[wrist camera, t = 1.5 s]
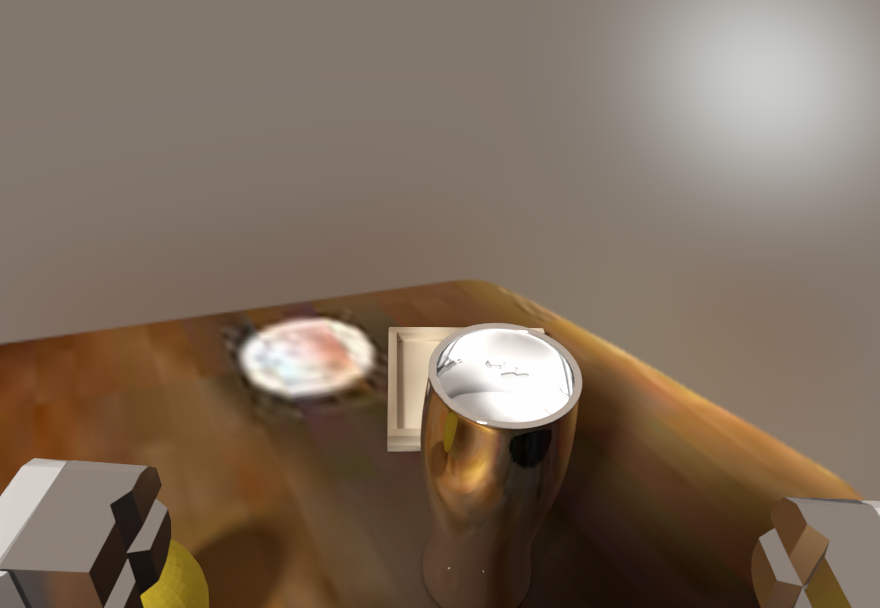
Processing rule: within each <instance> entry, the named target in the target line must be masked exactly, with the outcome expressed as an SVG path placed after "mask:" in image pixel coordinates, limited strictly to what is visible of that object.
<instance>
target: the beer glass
mask: <svg viewBox="0 0 880 608" xmlns="http://www.w3.org/2000/svg"><path fill="white" fill-rule="evenodd" d="M428 371H429V373H428V380H427V385H426V390H425V397H424V403H423V410H422V419H421V430H420V460H421V468H422V476H423V482H424V487H425V492H426V497H427V502H428V506H429V511H430V516H431V522H432V529H431V533H430V536H429V539H428V541H427V544H426V546H425V549H424V553H423V557H422V575H423V579H424V582H425V585H426V588H427V590H428V592H429V593H430V595H431V596H432V598H433V599H434V600H435V601H436V602H437V603H438V604H439V605H440V606H441V607H442V608H516V607H517V606H518V605H519V604H520V603H521V602H522V600H523V599H524V597H525V596H526V594H527V592H528V589H529V586H530V581H531V555H530V547H531V544H532V541H533V539H534V537H535V535H536V533H537V531H538V529H539V528H540V526H541V524H542V523H543V521H544V519H545V517H546V515H547V514H548V512H549V510H550V508H551V506H552V505H553V503H554V501H555V498H556V496H557V494H558V492H559V490H560V487H561V485H562V483H563V480H564V477H565V474H566V471H567V467H568V464H569V461H570V457H571V452H572V447H573V442H574V437H575V431H576V423H577V416H578V407H579V399H580V395H581V391H582V375H581V371H580V369H579V366H578V364H577V362H576V361H575V359H574V358H573V356H572V355H571V354H570V353H569V352H568V351H567V350H566V349H565V348H564V347H563V346H562V345H561V344H559V343H558V342H557V341H555V340H554V339H552V338H550V337H549V336H547V335H545V334H543V333H541V332H538V331H536V330H533V329H530V328H527V327H523V326H519V325H513V324H505V323H487V324H479V325H473V326H469V327H466V328H463V329H461V330H458V331H456V332H454V333H452V334H451V335H449V336H448V337H446V338H445V339H444V340H442V341H441V342H440V343H439V344H438V346H437V347H436V348H435V350H434V351H433V353H432V355H431V358H430V361H429V368H428Z"/></svg>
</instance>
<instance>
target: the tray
mask: <svg viewBox="0 0 880 608" xmlns="http://www.w3.org/2000/svg"><path fill="white" fill-rule="evenodd" d="M461 329H463V328H437V327H389V362H388V450H387V451H420V430H421V419H422V410H423V403H424V397H425V390H426V385H427V380H428V373H429V371H428V368H429V361H430V358H431V355H432V353H433V351H434V350H435V348H436V347H437V346H438V344H439V343H440V342H441V341H442V340H444V339H445V338H446V337H448V336H449V335H451V334H452V333H454V332H456V331H458V330H461ZM530 329H533V330H536V331H538V332H541V333H543V334H545V333H544V330H543V328H530Z"/></svg>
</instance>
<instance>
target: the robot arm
mask: <svg viewBox="0 0 880 608" xmlns="http://www.w3.org/2000/svg"><path fill="white" fill-rule="evenodd" d="M161 486H162V485H161V482H160V478H159V475H158V472H157V469H156V468H154V467H150V466H139V465H126V464H113V463H100V462H87V461H67V460H53V459H38V458H34V459H33V460H31V461H30V462H28V463H27V464H25V465H24V466H22V467H21V468H20V470H19V471H18V473H17V474H16V475H15V477H14V478H13V479H12V481H11V482H10V484H9V485H8V486H7V488H6V489H5V490H4V492H3V493H2V495H1V496H0V608H144V607H143V604H142V600H141V597H140V596H141V595H142V594H143V593H144V592H146V591H147V590H148V589H149V588H150V587H152V586H153V585H154V584H155V583H157V582H158V581H159V579H160V576H161V574H162V571H163V569H164V566H165V563H166V561H167V556H168V551H169V546H170V541H171V520H170V516H169V512H168V508H166V507H165V506H164V505H163V504H162V503H160V502H159V501H158V500H157V499H156V497H157V495H158V492H159V490H160V488H161ZM769 516H770V518H771V521H772V523H773V525H774V527H775V528H774V529H772V530H771V531H769V532H767V533H766V534H764V535H763V536H761V537H760V538H759V539H758V541H757V544H756V546H755V548H754V551H753V553H752V569H751V576H752V581H753V586H754V590H755V594H756V596H757V599H758V602H759V604H760V607H761V608H880V501H864V500H863V501H858V500H851V499H825V498H798V497H784V498H782V499H781V500H779V501H778V502H776V503H775V505H774V507H773V509H772V511H771V513H770V515H769Z"/></svg>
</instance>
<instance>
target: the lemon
mask: <svg viewBox="0 0 880 608" xmlns="http://www.w3.org/2000/svg"><path fill="white" fill-rule="evenodd" d="M140 597H141V600H142V604H143V607H144V608H209V591H208V585H207V582H206V580H205V577H204V574H203V571H202V569H201V567H200V565H199V564H198V562H197V561H196V560H195V559H194V557H193V556H192V555H191V554H190V552H189V551H188V550H187V549H186V548H185V547H183V546H182V545H181V544H179V543H177V542H176V541H174V540H173V539H171V541H170V546H169V551H168V556H167V561H166V563H165V566H164V569H163V571H162V574H161V576H160V579H159V581H158V582H157V583H155V584H154V585H153V586H152V587H150V588H149V589H148V590H147V591H146V592H144V593H143V594H142V595H141V596H140Z"/></svg>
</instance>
